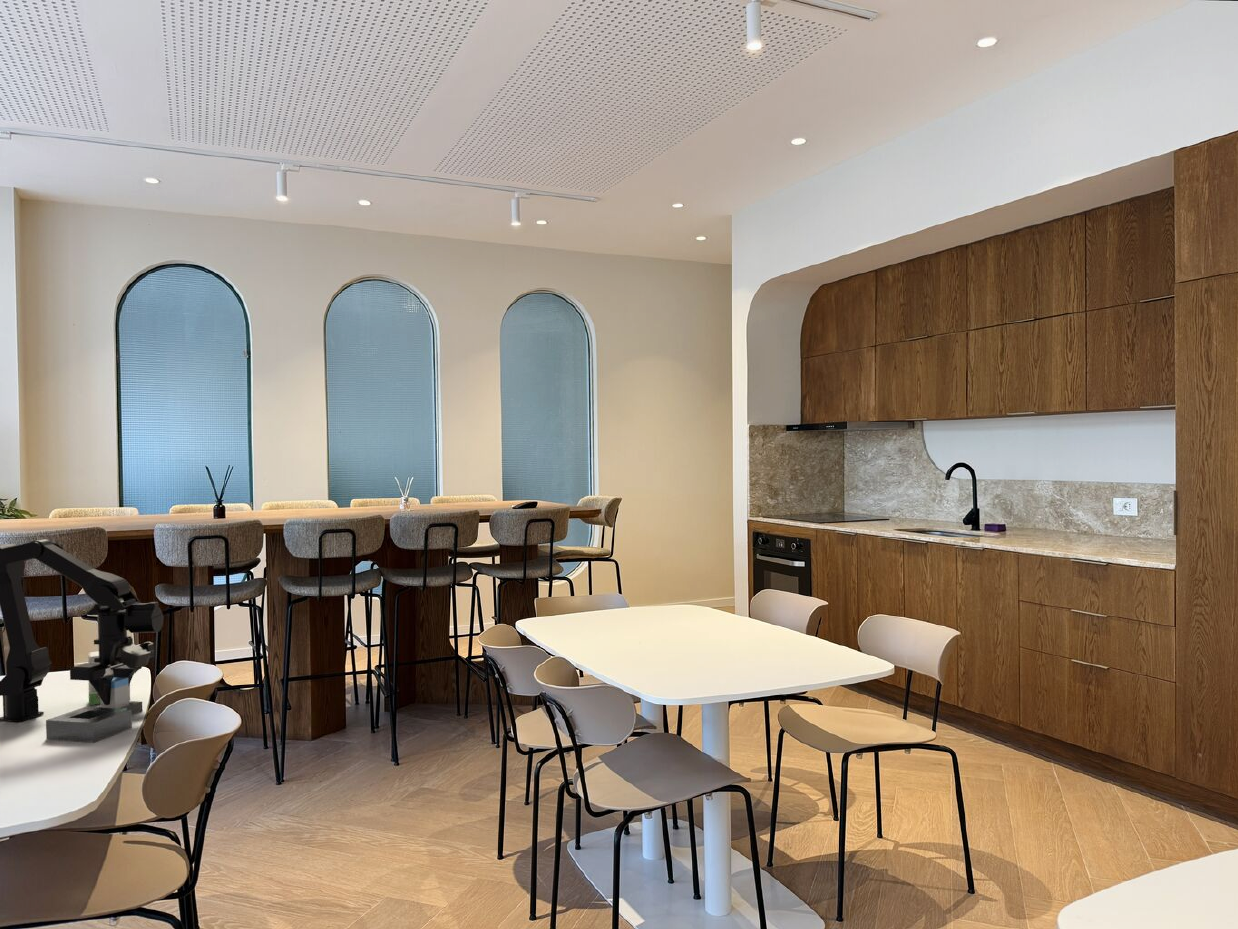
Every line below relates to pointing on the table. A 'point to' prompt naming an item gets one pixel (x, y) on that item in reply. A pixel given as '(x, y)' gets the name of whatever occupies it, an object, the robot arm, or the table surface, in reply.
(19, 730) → the table surface
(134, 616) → the robot arm
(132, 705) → the gray square frame
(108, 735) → the port
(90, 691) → the ink box
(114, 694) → the plug
